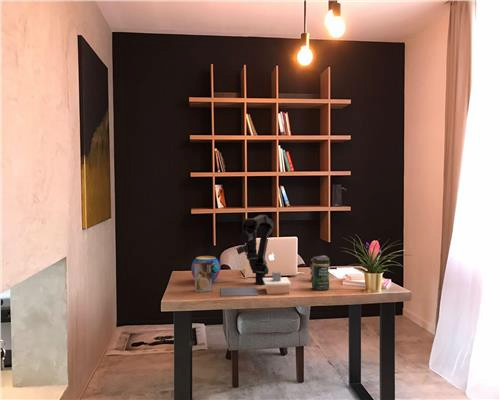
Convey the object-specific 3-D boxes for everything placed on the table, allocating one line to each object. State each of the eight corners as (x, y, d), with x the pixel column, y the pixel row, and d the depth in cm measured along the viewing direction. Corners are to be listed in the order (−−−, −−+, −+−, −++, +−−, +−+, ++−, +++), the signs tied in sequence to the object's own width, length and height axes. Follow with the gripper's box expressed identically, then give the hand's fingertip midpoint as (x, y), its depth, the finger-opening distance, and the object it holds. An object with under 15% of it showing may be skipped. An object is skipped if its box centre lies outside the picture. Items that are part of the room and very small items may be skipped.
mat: (220, 288, 241) (220, 287, 241) (255, 287, 242) (255, 287, 242) (220, 296, 224) (220, 295, 224) (258, 295, 225) (258, 294, 225)
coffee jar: (314, 291, 235) (314, 257, 234) (310, 287, 242) (310, 255, 242) (331, 290, 236) (331, 257, 235) (326, 286, 244) (326, 255, 243)
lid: (262, 279, 241) (262, 270, 241) (286, 279, 242) (286, 269, 242) (265, 285, 227) (265, 275, 227) (291, 285, 228) (291, 274, 228)
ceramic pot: (192, 286, 247) (192, 260, 246) (190, 279, 264) (190, 255, 264) (221, 284, 250) (221, 259, 250) (218, 277, 268) (218, 254, 267)
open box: (264, 288, 240) (264, 279, 240) (285, 288, 241) (285, 279, 241) (267, 294, 228) (267, 285, 228) (289, 293, 229) (289, 284, 229)
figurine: (331, 281, 256) (331, 257, 256) (313, 282, 254) (313, 258, 253) (325, 278, 265) (325, 254, 265) (308, 279, 263) (308, 255, 262)
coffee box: (210, 288, 241) (210, 260, 241) (212, 291, 235) (212, 262, 235) (194, 289, 239) (194, 261, 238) (196, 292, 233) (196, 263, 232)
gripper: (236, 238, 247) (236, 265, 248) (237, 243, 228) (237, 271, 229) (255, 238, 248) (255, 264, 248) (258, 243, 229) (258, 271, 230)
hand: (251, 268), depth 239 cm, fingers open, 9 cm apart
